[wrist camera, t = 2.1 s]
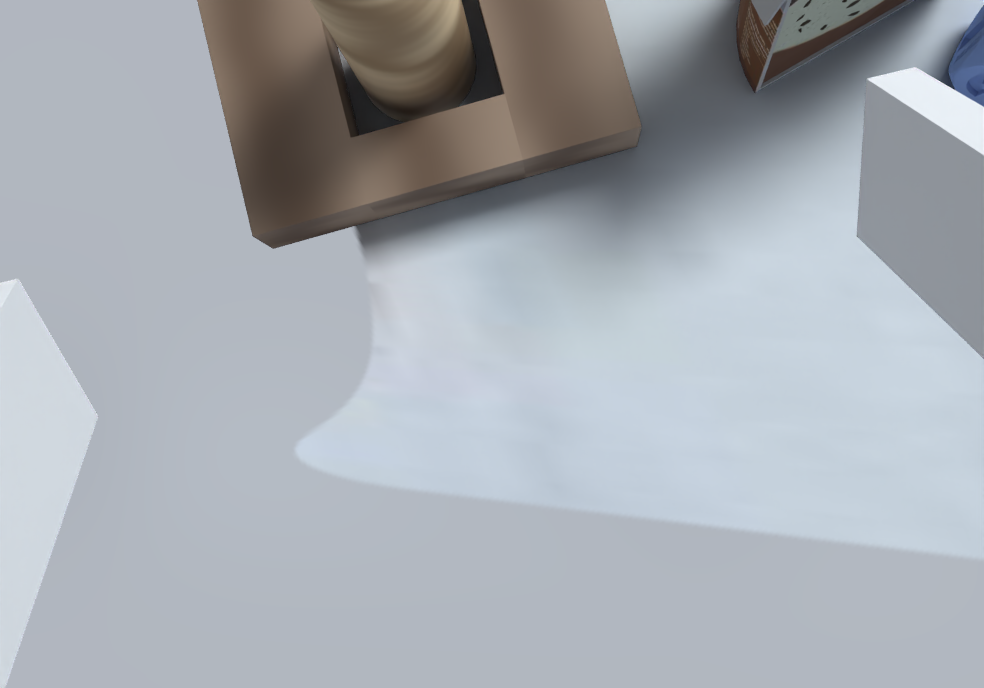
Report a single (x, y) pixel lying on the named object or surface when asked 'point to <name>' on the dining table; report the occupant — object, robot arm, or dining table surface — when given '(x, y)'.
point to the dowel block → (417, 143)
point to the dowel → (405, 52)
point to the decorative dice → (970, 62)
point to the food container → (799, 32)
